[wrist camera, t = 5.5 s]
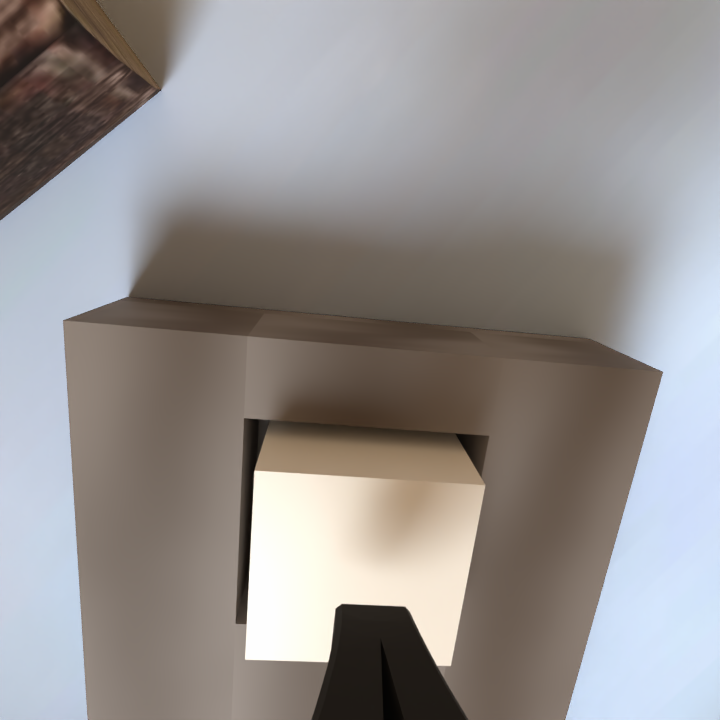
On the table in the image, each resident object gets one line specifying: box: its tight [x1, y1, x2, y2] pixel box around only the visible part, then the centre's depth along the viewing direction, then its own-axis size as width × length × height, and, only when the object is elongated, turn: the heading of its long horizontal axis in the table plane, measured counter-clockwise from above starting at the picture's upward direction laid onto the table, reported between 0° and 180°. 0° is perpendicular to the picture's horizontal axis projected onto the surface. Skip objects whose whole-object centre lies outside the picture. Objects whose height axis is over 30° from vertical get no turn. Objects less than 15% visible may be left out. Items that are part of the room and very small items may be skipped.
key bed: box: [63, 297, 663, 720], centre depth 16 cm, size 14×22×4 cm, turn 174°
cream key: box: [245, 420, 485, 666], centre depth 13 cm, size 5×5×3 cm
